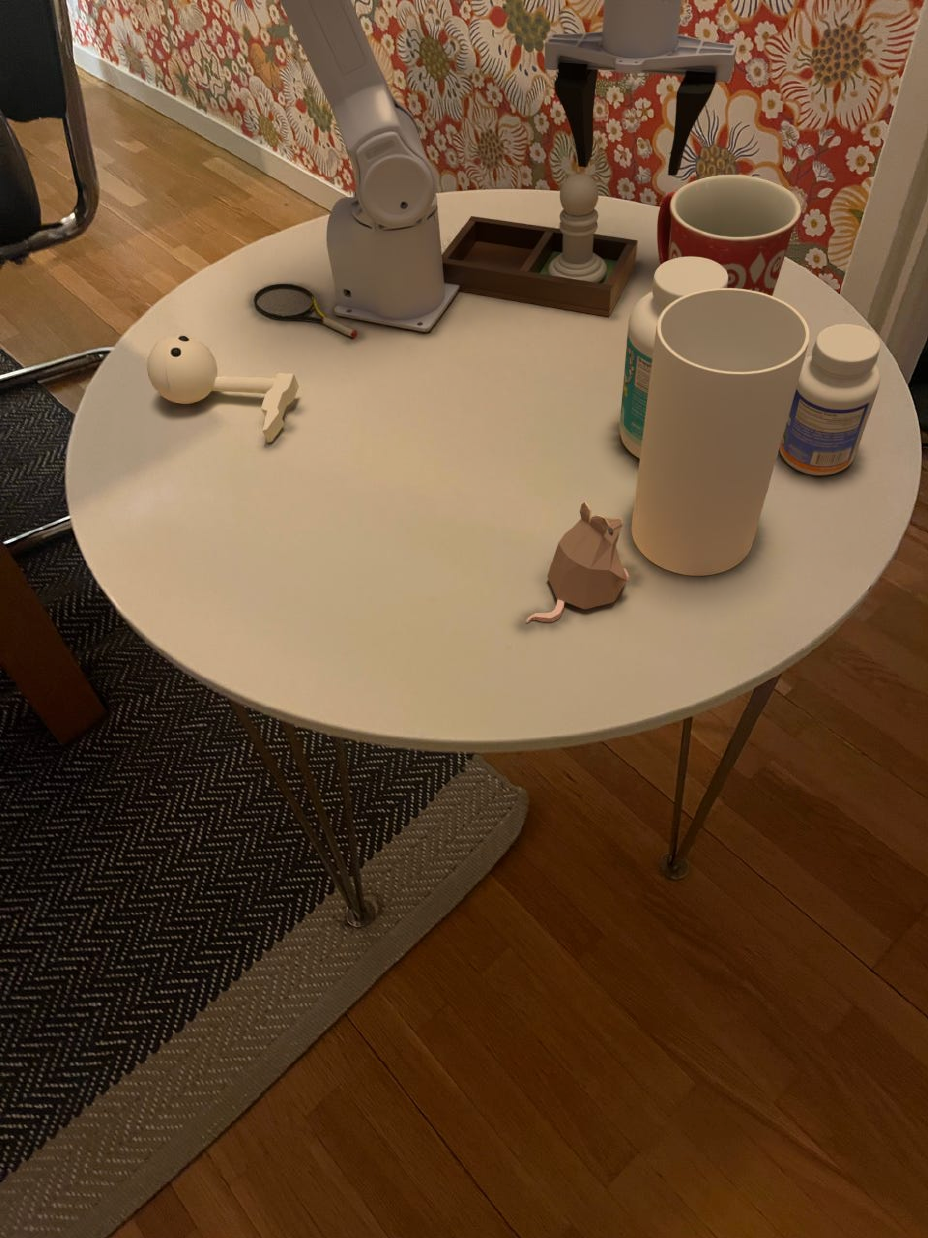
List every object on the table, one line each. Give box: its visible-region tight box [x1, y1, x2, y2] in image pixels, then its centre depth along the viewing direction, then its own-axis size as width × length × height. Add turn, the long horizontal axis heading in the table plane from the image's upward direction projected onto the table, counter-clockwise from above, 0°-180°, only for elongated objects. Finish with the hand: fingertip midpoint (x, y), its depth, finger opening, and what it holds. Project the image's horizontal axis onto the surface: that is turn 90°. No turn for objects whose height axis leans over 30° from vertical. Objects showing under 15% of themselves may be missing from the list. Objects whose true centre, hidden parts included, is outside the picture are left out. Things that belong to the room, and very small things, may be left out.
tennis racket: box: [253, 283, 358, 339], centre depth 81 cm, size 12×1×5 cm
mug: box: [656, 174, 802, 297], centre depth 68 cm, size 13×9×14 cm
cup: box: [631, 288, 810, 577], centre depth 55 cm, size 8×8×16 cm
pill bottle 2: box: [779, 323, 881, 476], centre depth 61 cm, size 5×5×10 cm
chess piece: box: [548, 172, 607, 283], centre depth 77 cm, size 5×5×9 cm
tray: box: [442, 215, 639, 317], centre depth 81 cm, size 9×16×3 cm, turn 68°
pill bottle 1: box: [619, 257, 728, 459], centre depth 62 cm, size 8×7×14 cm
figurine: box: [146, 333, 300, 443], centre depth 71 cm, size 8×6×12 cm
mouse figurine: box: [525, 501, 630, 624], centre depth 56 cm, size 5×8×7 cm, turn 127°
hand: (629, 165), depth 75 cm, fingers open, 7 cm apart
